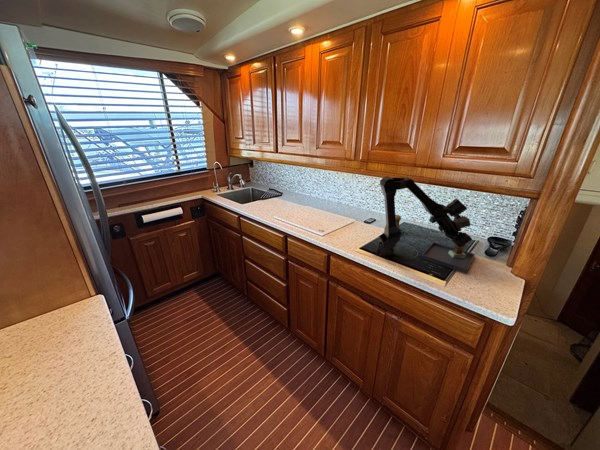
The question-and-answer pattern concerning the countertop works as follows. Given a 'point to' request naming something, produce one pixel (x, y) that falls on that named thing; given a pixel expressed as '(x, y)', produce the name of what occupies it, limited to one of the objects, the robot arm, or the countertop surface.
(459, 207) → the robot arm
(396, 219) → the cork
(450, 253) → the brown green handled brush
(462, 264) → the tray
